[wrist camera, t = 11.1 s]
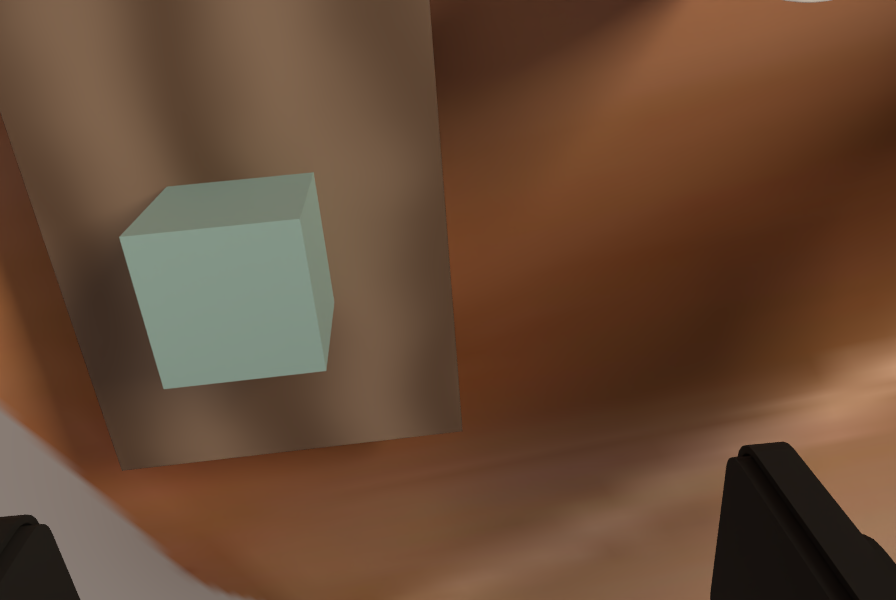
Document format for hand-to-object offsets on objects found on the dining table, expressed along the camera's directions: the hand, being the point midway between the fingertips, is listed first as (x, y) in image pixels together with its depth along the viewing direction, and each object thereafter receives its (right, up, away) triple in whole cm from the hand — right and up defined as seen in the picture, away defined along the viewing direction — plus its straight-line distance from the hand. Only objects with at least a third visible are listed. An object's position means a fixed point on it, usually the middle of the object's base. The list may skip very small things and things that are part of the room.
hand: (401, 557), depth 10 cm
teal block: (-6, +5, +15) cm, 18 cm away
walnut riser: (-7, +8, +20) cm, 22 cm away
